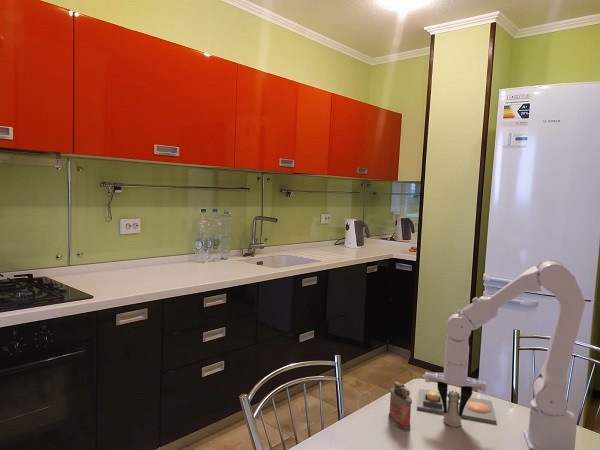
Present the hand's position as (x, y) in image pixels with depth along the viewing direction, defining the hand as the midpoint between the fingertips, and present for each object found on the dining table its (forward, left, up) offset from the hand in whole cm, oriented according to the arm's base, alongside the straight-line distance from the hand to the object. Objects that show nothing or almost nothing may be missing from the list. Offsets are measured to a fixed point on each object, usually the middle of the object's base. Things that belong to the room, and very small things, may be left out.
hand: (452, 412), depth 113 cm
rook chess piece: (0, 0, -3) cm, 3 cm away
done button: (+5, -8, -1) cm, 9 cm away
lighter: (+13, +5, -3) cm, 14 cm away
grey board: (-1, -10, -3) cm, 10 cm away
